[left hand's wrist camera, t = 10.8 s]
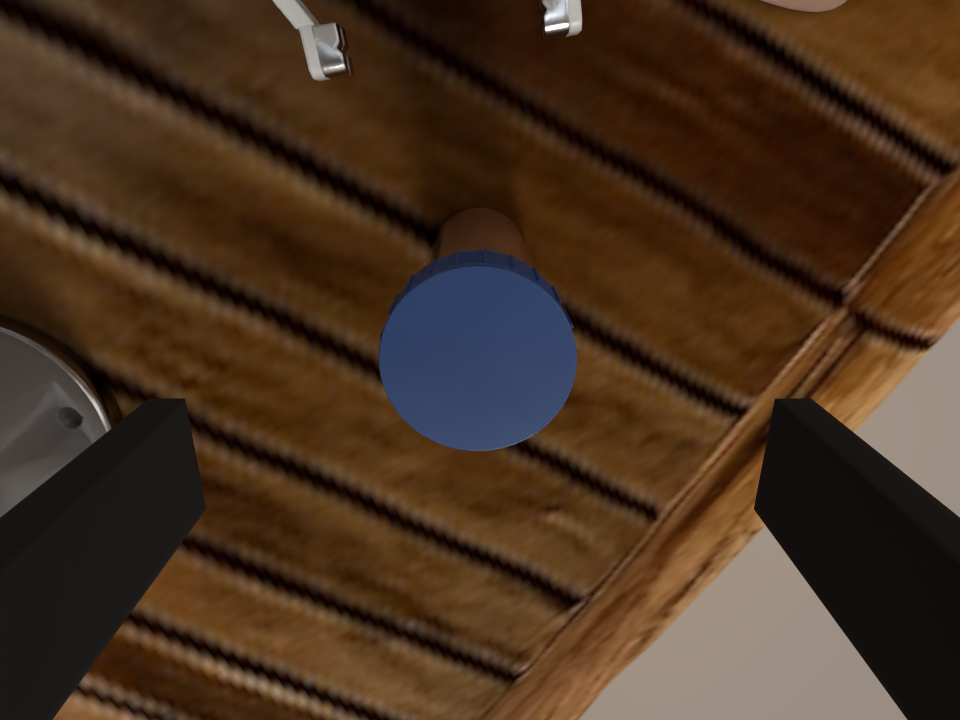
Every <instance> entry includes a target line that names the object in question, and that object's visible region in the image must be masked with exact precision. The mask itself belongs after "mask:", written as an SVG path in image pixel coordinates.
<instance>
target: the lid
mask: <svg viewBox="0 0 960 720" xmlns="http://www.w3.org/2000/svg"><path fill="white" fill-rule="evenodd" d="M560 303H562V302H561V300H560V298H559V296H558V294H557V292H556V290H555V288H554V286H550V285H549V284H548V282H547V281H546V280H545V279H544V278H543V277H542V276H541V275H540V274H539V273H538V270H537V268H535V267H534V268H532V267H530V266H529V265H527V264H526V263H524V262H522V261H520V260H518V259H516V258H514V255H512V254H511V255H510V256H509V255H505V254H502V253H498V252H493V251H488V249H486V248H484V250H472V251H463V252H461V251H460V250H457V253H453V254H450V255H448V256H445V257H442V258H440V259H438V260H435V259H433V260H432V261H431V263H430V264H429V265H427V266H426V267H425V268H423V269H422V270H421V271H419V272H418V273H417V274H416V275H414V274H413V275H412V276H411V277H410V279H409V281H408V283H407V285H406V286H405V288H404V290H403V291H402V293H401V294H400V296H399V295H397V296H396V298H395V300H394V302H393V304H392V306H391V308H390V310H389V312H388V313H389V314H390V316H389V318H388V320H387V322H386V325H385V327H384V329H383V331H382V333H381V335H380V339H381V340H380V347H379V369H380V375H381V379H382V383H383V386H384V389H385V391H386V394H387V396H388V398H389V400H390V402H391V403H392V405H393V406H394V408H395V410H396V411H397V412H398V413H399V415H400V416H401V417H402V418H403V419H404V420H405V421H406V422H407V423H408V424H409V425H410V426H411V427H412V428H414V429H415V430H416V431H418V432H419V433H420V434H422V435H423V436H425V437H427V438H429V439H431V440H432V441H435V442H437V443H440V444H442V445H445V446H448V447H452V448H456V449H462V450H470V451H485V450H494V449H500V448H504V447H508V446H511V445H514V444H517V443H519V442H521V441H523V440H525V439H527V438H529V437H531V436H532V435H534V434H536V433H537V432H538V431H540V430H541V429H542V428H543V427H545V426H546V425H547V424H548V423H549V422H550V421H551V420H552V419H553V418H554V417H555V416H556V414H557V413H558V412H559V410H560V409H561V408H562V406H563V405H564V403H565V401H566V399H567V398H568V395H569V393H570V391H571V388H572V386H573V382H574V378H575V374H576V365H577V349H576V344H575V338H574V335H573V332H572V329H571V328H573V324H572V322H571V320H570V318H569V316H568V314H567V312H566V310H565V308H562V306H561V304H560Z"/></svg>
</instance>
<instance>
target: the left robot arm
mask: <svg viewBox="0 0 960 720" xmlns="http://www.w3.org/2000/svg"><path fill="white" fill-rule="evenodd" d="M205 510H206V506H205V501H204V495H203V490H202V485H201V480H200V475H199V469H198V464H197V459H196V454H195V448H194V443H193V438H192V433H191V428H190V422H189V417H188V412H187V407H186V401H185V399H148V400H147V401H145V402H144V403H143V404H142V405H140V406H139V407H138V408H137V409H135V410H134V411H133V412H132V413H130V414H129V415H128V416H127V417H125V418H124V419H123V420H122V419H121V416H120V414H119V411H118V409H117V407H116V405H115V403H114V401H113V399H112V397H111V395H110V394H109V392H108V391H107V389H106V388H105V386H104V385H103V383H102V382H101V381H100V380H99V378H98V377H97V376H96V375H95V373H94V372H93V371H92V370H91V369H90V368H89V367H88V366H87V365H86V364H85V363H84V362H83V361H82V360H81V359H80V358H79V357H78V356H76V355H75V354H74V353H73V352H71V351H70V350H69V349H68V348H66V347H65V346H64V345H62V344H61V343H59V342H58V341H56V340H55V339H53V338H51V337H50V336H48V335H46V334H44V333H43V332H41V331H39V330H37V329H34V328H32V327H30V326H28V325H25V324H23V323H20V322H17V321H15V320H11V319H8V318H4V317H0V720H53V718H54V717H55V715H56V714H57V713H58V711H59V710H60V709H61V707H62V706H63V705H64V703H65V702H66V700H67V699H68V698H69V696H70V695H71V694H72V692H73V691H74V689H75V688H76V687H77V685H78V684H79V683H80V681H81V680H82V678H83V677H84V676H85V674H86V673H87V672H88V670H89V669H90V667H91V666H92V665H93V663H94V662H95V661H96V659H97V658H98V657H99V655H100V654H101V652H102V651H103V650H104V648H105V647H106V646H107V644H108V643H109V641H110V640H111V639H112V637H113V636H114V635H115V633H116V632H117V630H118V629H119V628H120V626H121V625H122V624H123V622H124V621H125V620H126V618H127V617H128V615H129V614H130V613H131V611H132V610H133V609H134V607H135V606H136V604H137V603H138V602H139V600H140V599H141V598H142V596H143V595H144V593H145V592H146V591H147V589H148V588H149V587H150V585H151V584H152V582H153V581H154V580H155V578H156V577H157V576H158V574H159V573H160V572H161V570H162V569H163V567H164V566H165V565H166V563H167V562H168V561H169V559H170V558H171V556H172V555H173V554H174V552H175V551H176V550H177V548H178V547H179V545H180V544H181V543H182V541H183V540H184V539H185V537H186V536H187V535H188V533H189V532H190V530H191V529H192V528H193V526H194V525H195V524H196V522H197V521H198V519H199V518H200V517H201V515H202V514H203V513H204V511H205ZM754 510H755V511H756V513H757V514H758V515H759V517H760V518H761V519H762V521H763V522H764V524H765V525H766V526H767V528H768V529H769V530H770V532H771V533H772V534H773V536H774V537H775V539H776V540H777V541H778V543H779V544H780V545H781V547H782V548H783V550H784V551H785V552H786V554H787V555H788V556H789V558H790V559H791V561H792V562H793V563H794V565H795V566H796V567H797V569H798V570H799V572H800V573H801V574H802V576H803V577H804V578H805V580H806V581H807V582H808V584H809V585H810V587H811V588H812V589H813V591H814V592H815V593H816V595H817V596H818V598H819V599H820V600H821V602H822V603H823V604H824V606H825V607H826V608H827V610H828V611H829V613H830V614H831V615H832V617H833V618H834V620H835V621H836V622H837V624H838V625H839V626H840V628H841V629H842V630H843V632H844V633H845V635H846V636H847V637H848V639H849V640H850V641H851V643H852V644H853V646H854V647H855V648H856V650H857V651H858V652H859V654H860V655H861V657H862V658H863V659H864V661H865V662H866V663H867V665H868V666H869V667H870V669H871V670H872V672H873V673H874V674H875V676H876V677H877V678H878V680H879V681H880V683H881V684H882V685H883V687H884V688H885V689H886V691H887V692H888V694H889V695H890V696H891V698H892V699H893V700H894V702H895V703H896V704H897V706H898V707H899V709H900V710H901V711H902V713H903V714H904V715H905V717H906V718H907V720H960V517H958V516H957V515H956V514H955V513H953V512H952V511H951V510H950V509H948V508H947V507H946V506H945V505H943V504H942V503H941V502H940V501H938V500H937V499H936V498H935V497H933V496H932V495H931V494H930V493H928V492H927V491H926V490H925V489H923V488H922V487H921V486H920V485H918V484H917V483H916V482H915V481H913V480H912V479H911V478H910V477H908V476H907V475H906V474H905V473H903V472H902V471H901V470H900V469H898V468H897V467H896V466H895V465H893V464H892V463H891V462H890V461H888V460H887V459H886V458H884V457H883V456H882V455H881V454H880V453H878V452H877V451H876V450H875V449H873V448H872V447H871V446H870V445H868V444H867V443H866V442H865V441H863V440H862V439H861V438H860V437H858V436H857V435H856V434H855V433H853V432H852V431H851V430H850V429H848V428H847V427H846V426H845V425H843V424H842V423H841V422H840V421H838V420H837V419H836V418H835V417H833V416H832V415H831V414H830V413H828V412H827V411H826V410H825V409H823V408H822V407H821V406H820V405H818V404H817V403H816V402H815V401H813V400H812V399H775V401H774V407H773V412H772V417H771V422H770V428H769V433H768V438H767V443H766V448H765V454H764V459H763V464H762V469H761V475H760V480H759V485H758V490H757V495H756V501H755V506H754Z"/></svg>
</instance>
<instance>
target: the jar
mask: <svg viewBox="0 0 960 720" xmlns="http://www.w3.org/2000/svg"><path fill="white" fill-rule="evenodd" d="M484 248H486V249H488V251H493V252H498V253H502V254H505V255H509V256H510V255H511V254H512V255H514V258H516V259H518V260H520V261H522V262H524V263H526V264H527V265H529V266H530V267H532V268H534V267H535V266H534V264H533V261H532V259H531V256H530V254H529V251H528V249H527V246H526V244H525V241H524V239H523V236H522V234H521V232H520V230H519V229H518V227H517V226H516V225H515V224H514V222H513V221H512V220H511V219H509V218H508V217H507V216H505V215H504V214H502V213H500V212H498V211H496V210H493V209H489V208H481V207H478V208H470V209H466V210H463V211H460V212H459V213H457V214H455V215H453V216H452V217H451V218H449V219H448V220H447V221H446V222H445V223H444V225H443V226H442V227H441V229H440V230H439V232H438V234H437V237H436V239H435V241H434V243H433V246H432V248H431V250H430V253H429V255H428V257H427V259H426V262H425V264H424V266H423V268H425V267H426V266H427V265H429V264H430V263H431V261H432V260H433V259H435V260H438V259H440V258H442V257H445V256H448V255H450V254H453V253H457V250H460V251H461V252H463V251H472V250H484Z"/></svg>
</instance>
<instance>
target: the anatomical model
mask: <svg viewBox="0 0 960 720" xmlns="http://www.w3.org/2000/svg"><path fill="white" fill-rule="evenodd" d="M761 1H764V2H767V3H770V4H773V5H777V6H781V7H784V8H788V9H793V10H799V11H805V12H821V11H828V10H831V9H834V8H836V7H838V6H840V5H841V4H843V3H844V2H846V1H847V0H761Z"/></svg>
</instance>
